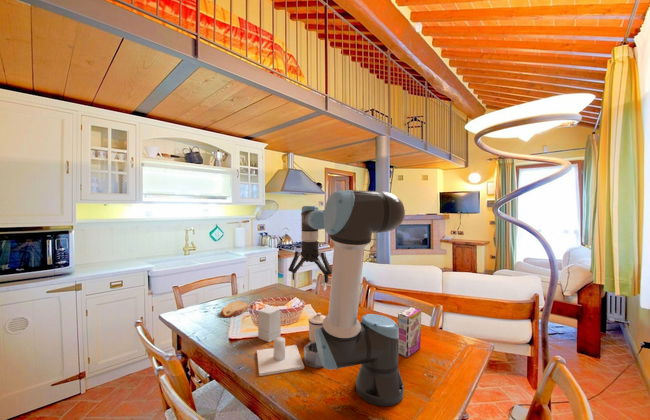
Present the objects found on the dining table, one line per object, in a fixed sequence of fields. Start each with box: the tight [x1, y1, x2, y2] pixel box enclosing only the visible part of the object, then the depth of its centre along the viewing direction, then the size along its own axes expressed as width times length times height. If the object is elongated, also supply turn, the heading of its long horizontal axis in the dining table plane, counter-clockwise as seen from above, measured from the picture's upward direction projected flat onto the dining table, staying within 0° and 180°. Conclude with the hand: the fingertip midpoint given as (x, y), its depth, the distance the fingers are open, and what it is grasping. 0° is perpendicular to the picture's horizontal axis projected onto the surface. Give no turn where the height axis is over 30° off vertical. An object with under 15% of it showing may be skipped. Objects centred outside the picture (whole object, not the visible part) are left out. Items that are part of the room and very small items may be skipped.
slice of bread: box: [220, 300, 249, 319], centre depth 156 cm, size 18×18×4 cm
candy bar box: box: [397, 306, 422, 359], centre depth 113 cm, size 11×5×16 cm, turn 134°
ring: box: [303, 341, 324, 369], centre depth 106 cm, size 10×10×5 cm
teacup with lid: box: [308, 312, 327, 342], centre depth 124 cm, size 12×9×12 cm
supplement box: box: [257, 305, 282, 343], centre depth 124 cm, size 7×7×13 cm
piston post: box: [256, 336, 305, 377], centre depth 106 cm, size 16×16×8 cm
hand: (310, 288), depth 122 cm, fingers open, 13 cm apart
